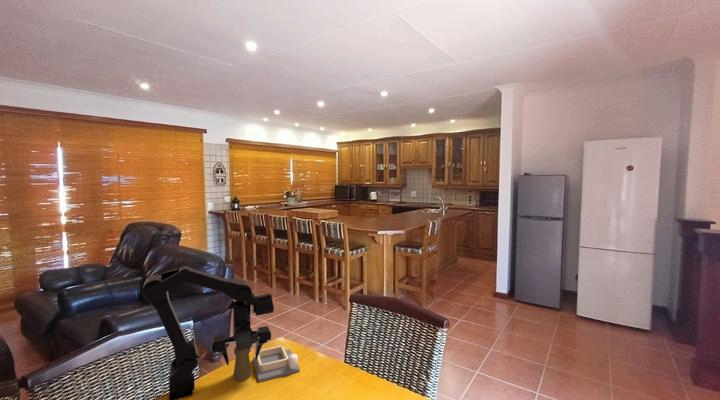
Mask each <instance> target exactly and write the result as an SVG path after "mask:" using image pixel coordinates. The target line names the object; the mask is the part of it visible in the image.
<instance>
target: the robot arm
mask: <svg viewBox="0 0 720 400" xmlns="http://www.w3.org/2000/svg"><path fill="white" fill-rule="evenodd" d="M184 283H189V284H192V285H196V286H199V287H202V288H206V289H210V290H214V291H217V292H220V293H222V294H224V295H226V296H227V297H228V298H231V299H230V300H229V301H228V302H226V304H225V305H226V308H227V310H232V336H228V337H225V333H222V334H216V335H213V336H212V337H211V347H212V349H211V350H212V351H211V352H213V353H215V352H216V353H217V354H219V353H220V354H222V356H223V358H224V361H225V363H226V366H229V364H230V363H229V356H228V350H227V344H233V343H235V347H236V349H237V350H238V351H240V350H243V349H249V348H250V349H251V348H252V347H253V344H255V349H254V350H255V351H254V354H255V355H254V357H255V358H256V359H257V358H258V355H259V352H260V350H262V347H263V345H265V344H267V343H268V341H271V340H272V332H271V328H270V326H268V325H265V326H258V327H257V329H256V330H252V327H251V326H252V325H251V323H252V322H251V320H252V317H251V315H252V314H255V316H263V315H267V314H273V313H274V311H275V310H274V309H275V305H274V303H273V302H274V301H273V296H272V293H270V292H269V293H265V294H260V295H256V294H255V293H254V292H252V288H251V287H250V285H249V283H248V281H246V280H244V279H238V278H224V277H221V276H218V275H214V274H211V273H207V272H205V271H202V270H198V269H195V268H192V267H191V266H187V265H184V266H181V267H179V268H177V269H171V270H169V271H165V272H162V273H161V274H158V273H157V274H151V275H149V276H148V277H147V278H146V279H145V281H144V283H143V287H142V290H141V293H142V295H143V297H144V299H145V300H146V302H147V303H148V304H149V305H150V306H152V307H153V308H154V309H155V310H156V312H157V314H158V317H159V319H160V321H161V323H162V325H163V327H164V330H165V331H166V333H167V336H168V338H169V341H170V343H171V344H172V347H173V351H174V357H175V358H174V359H173V360H172V361H171V362H170V365H169V367H170V368H169V377H168V382H169V383H168V384H169V387H168V388H169V390H168V391H169V395H168V400H180V399H184V398H188V397H192V395H194V390H195V372H193V371H194V370H195V369H196V368H197V366H198V365H199V358H200V351H199V350H200V349H199V346H198V345H197V344H196V340H195V338H192V339H189V338H187V336H186V334H185V332H184V330H183V327H182V325H181V323H180V320H179V318H178V315H177V314H176V312H175V309H174V307H173V305H172V303H171V300H170V296H169V292H170V291H171V290H173V289H175V288H177V287H178V286H180V285H182V284H184ZM251 313H252V314H251Z"/></svg>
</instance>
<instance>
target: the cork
mask: <svg viewBox="0 0 720 400" xmlns="http://www.w3.org/2000/svg"><path fill="white" fill-rule="evenodd" d="M250 352H251V348H249V349H243V350H240V351H238V350H237V349H236V346H235V347H234V350H233V353H234V356H235V360H234V368H233V375H232V376H233V377H232V378H233V380H234V381H236V382H243V381H246V380H248V379H250V378H251V377H252V374H253V373H252V367H251V360H250V355H249V354H250Z"/></svg>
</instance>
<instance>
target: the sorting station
mask: <svg viewBox="0 0 720 400" xmlns="http://www.w3.org/2000/svg"><path fill="white" fill-rule="evenodd" d="M298 359H299V355H298V354H296V353H292V350H291V348H289V349H285V347H284V345H277V346H273V347H269V348H263V349H260V352H259V355H258V358H257V359H256V358H255V356H254V357H252V362H253V365H254V370H255V373H256V377H257V381H258V383H260V382H264V381H268V380H273V379H276V378H280V377H285V376H288V375H292V374H295V373H296V374H297V373H300V372H301V370H300V367H299V365H298V364H299V363H298V362H299V360H298Z"/></svg>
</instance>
